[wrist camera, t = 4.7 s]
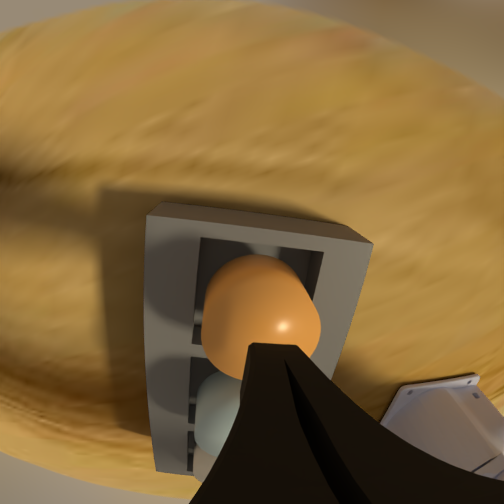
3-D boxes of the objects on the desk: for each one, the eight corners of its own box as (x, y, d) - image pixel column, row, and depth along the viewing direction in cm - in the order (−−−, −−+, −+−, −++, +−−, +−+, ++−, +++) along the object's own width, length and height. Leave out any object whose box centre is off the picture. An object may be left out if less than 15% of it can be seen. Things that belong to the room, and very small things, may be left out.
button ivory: (262, 424, 17) (268, 457, 14) (252, 458, 18) (256, 488, 15) (195, 420, 16) (193, 454, 14) (193, 455, 17) (192, 485, 15)
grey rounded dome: (285, 370, 14) (296, 409, 11) (269, 423, 15) (276, 460, 13) (199, 364, 13) (195, 404, 11) (195, 419, 15) (193, 457, 12)
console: (347, 226, 15) (373, 243, 12) (281, 446, 20) (287, 477, 17) (161, 201, 14) (146, 215, 11) (160, 439, 19) (156, 471, 16)
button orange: (312, 260, 12) (334, 288, 10) (292, 344, 13) (305, 382, 11) (209, 248, 12) (206, 275, 9) (201, 337, 13) (197, 377, 10)
